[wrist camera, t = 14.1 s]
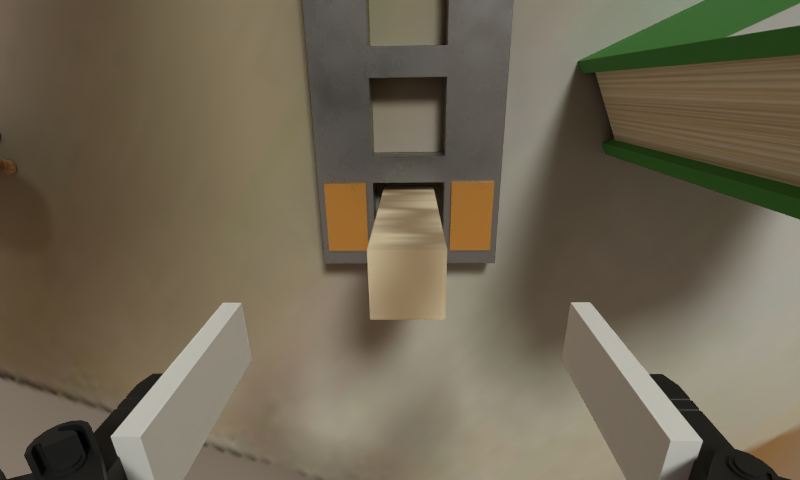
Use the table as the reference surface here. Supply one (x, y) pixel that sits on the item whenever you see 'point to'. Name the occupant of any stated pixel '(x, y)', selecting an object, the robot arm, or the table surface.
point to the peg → (407, 256)
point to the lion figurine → (7, 166)
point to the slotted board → (361, 168)
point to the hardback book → (711, 99)
